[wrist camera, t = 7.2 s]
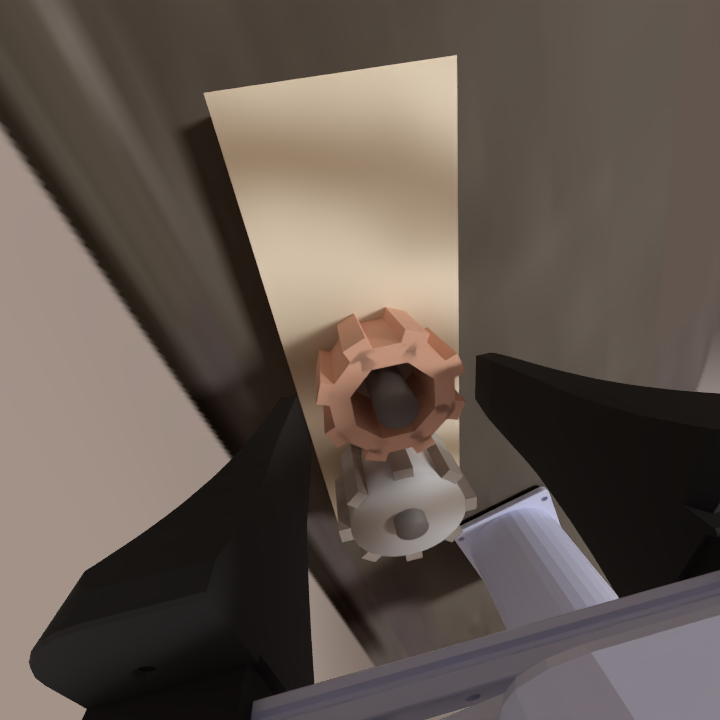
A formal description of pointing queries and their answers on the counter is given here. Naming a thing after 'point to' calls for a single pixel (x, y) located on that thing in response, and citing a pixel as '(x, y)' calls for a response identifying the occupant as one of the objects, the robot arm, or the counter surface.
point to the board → (359, 264)
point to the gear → (378, 350)
